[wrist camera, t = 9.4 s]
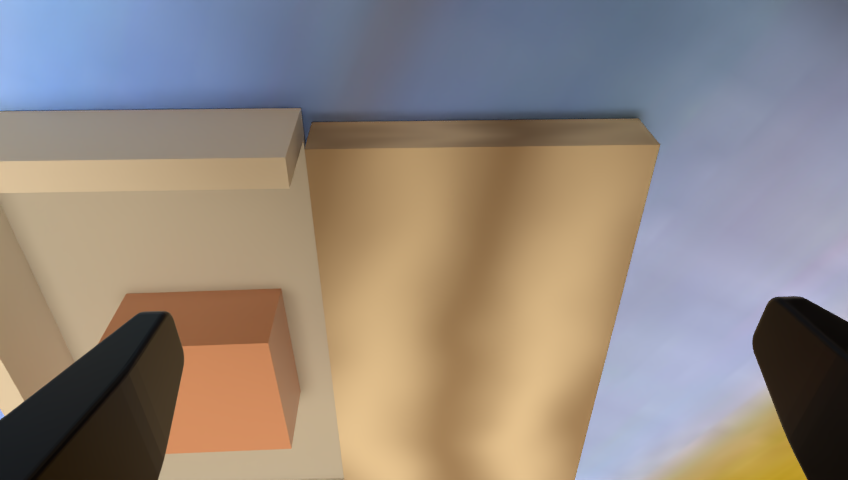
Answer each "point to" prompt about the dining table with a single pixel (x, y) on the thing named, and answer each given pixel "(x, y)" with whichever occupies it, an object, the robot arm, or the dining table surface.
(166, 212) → the box
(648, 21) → the dining table surface
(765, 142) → the dining table surface
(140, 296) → the block
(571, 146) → the wooden board
